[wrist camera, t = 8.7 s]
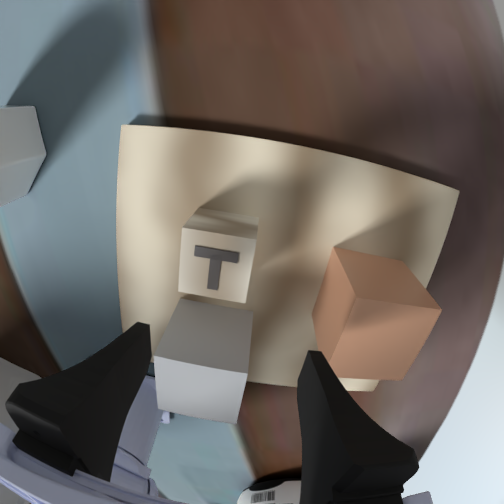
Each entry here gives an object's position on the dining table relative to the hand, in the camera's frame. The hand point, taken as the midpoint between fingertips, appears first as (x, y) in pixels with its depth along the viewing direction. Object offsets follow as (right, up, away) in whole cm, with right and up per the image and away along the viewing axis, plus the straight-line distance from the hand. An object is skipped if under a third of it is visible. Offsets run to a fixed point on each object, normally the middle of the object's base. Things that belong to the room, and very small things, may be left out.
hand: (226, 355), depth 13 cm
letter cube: (-1, +5, +7) cm, 9 cm away
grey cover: (-2, -2, +11) cm, 11 cm away
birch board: (+3, +2, +10) cm, 10 cm away
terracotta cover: (+9, +2, +8) cm, 12 cm away
